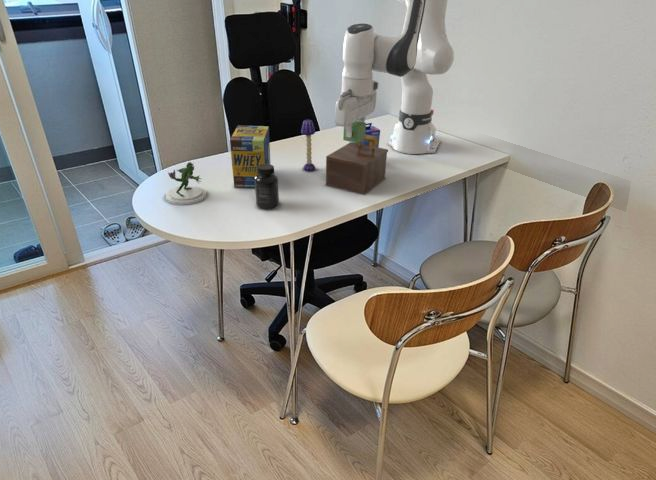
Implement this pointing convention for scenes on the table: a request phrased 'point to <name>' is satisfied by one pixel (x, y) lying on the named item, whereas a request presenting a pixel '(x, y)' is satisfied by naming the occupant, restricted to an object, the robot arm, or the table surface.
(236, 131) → the protein box
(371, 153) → the chest lid
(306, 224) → the table surface
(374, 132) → the ink cartridge box
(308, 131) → the toy lamp
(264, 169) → the supplement bottle
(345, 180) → the chest
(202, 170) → the table surface
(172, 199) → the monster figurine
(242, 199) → the table surface
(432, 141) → the robot arm
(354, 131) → the green toy block
